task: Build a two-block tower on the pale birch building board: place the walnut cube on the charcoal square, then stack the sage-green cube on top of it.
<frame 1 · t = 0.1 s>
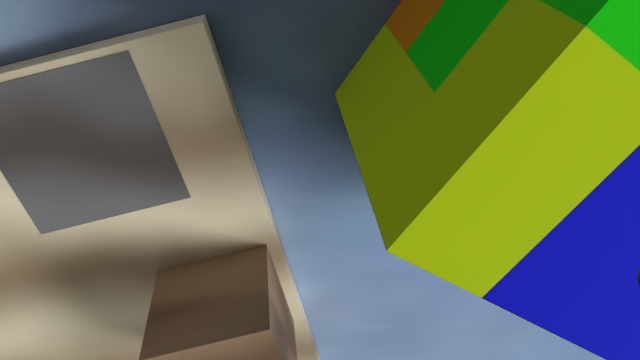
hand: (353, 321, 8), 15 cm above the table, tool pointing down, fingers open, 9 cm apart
puzzle toy: (505, 53, 22), on the table
walnut block: (229, 297, 26), point 1 cm above the table, touching building board
building board: (82, 266, 25), on the table
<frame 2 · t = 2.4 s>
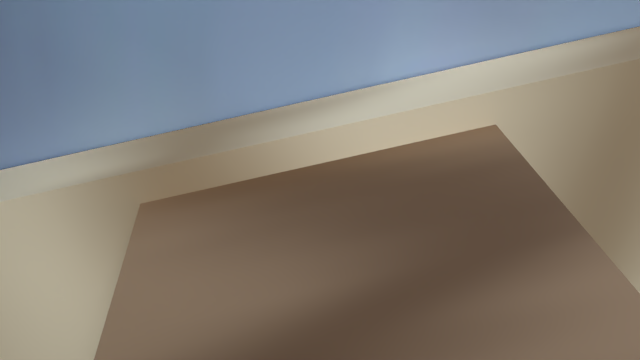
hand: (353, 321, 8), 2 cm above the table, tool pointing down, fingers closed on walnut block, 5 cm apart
walnut block: (347, 294, 9), point 1 cm above the table, touching building board, gripper
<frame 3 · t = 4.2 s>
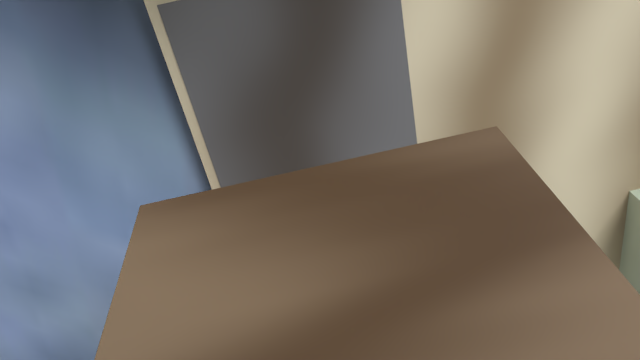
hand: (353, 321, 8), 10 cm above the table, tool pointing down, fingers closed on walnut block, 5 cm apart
walnut block: (347, 296, 9), point 10 cm above the table, touching gripper
building board: (491, 119, 19), on the table
when the fingers open (3 cm above the table, at t = 5.9 s): walnut block stays where it is, resting on building board.
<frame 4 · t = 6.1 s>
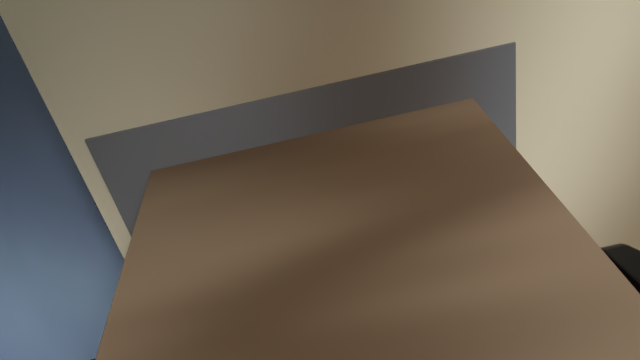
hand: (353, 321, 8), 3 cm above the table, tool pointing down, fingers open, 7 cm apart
walnut block: (339, 257, 10), point 1 cm above the table, touching building board
building board: (622, 269, 12), on the table
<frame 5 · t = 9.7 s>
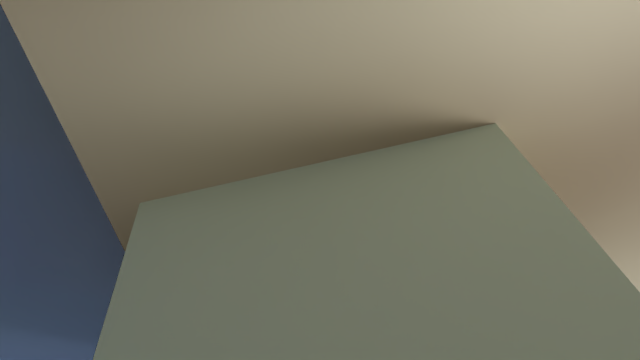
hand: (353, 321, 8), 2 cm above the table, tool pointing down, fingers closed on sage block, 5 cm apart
sage block: (347, 293, 9), point 1 cm above the table, touching building board, gripper
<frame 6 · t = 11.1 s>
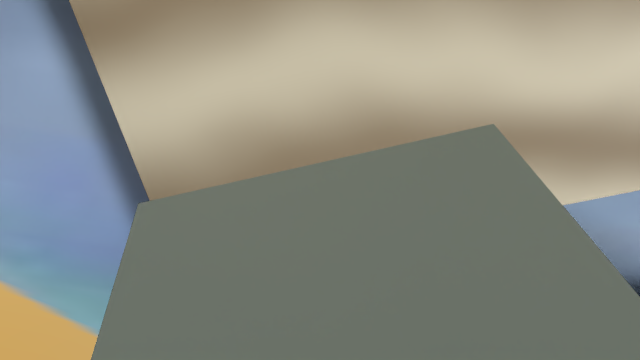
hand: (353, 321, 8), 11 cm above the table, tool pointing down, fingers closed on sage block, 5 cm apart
sage block: (345, 293, 9), point 11 cm above the table, touching gripper
when the fingers open (8 cm above the table, at t = 12.9 s): sage block drops 1 cm, resting on walnut block.
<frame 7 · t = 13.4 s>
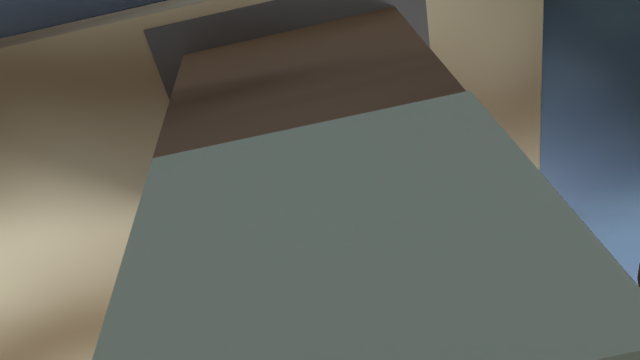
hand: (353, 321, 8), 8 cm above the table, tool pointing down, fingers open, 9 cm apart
walnut block: (310, 125, 14), point 1 cm above the table, touching building board, sage block
building board: (255, 290, 18), on the table
sage block: (337, 247, 10), point 6 cm above the table, touching walnut block
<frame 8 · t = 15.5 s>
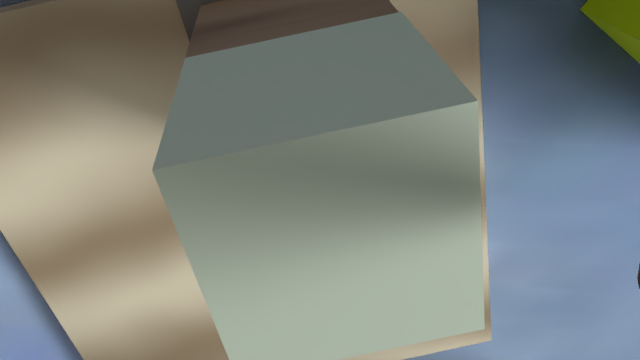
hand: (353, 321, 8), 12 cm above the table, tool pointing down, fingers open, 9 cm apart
walnut block: (298, 63, 18), point 1 cm above the table, touching building board, sage block
building board: (255, 210, 22), on the table
sage block: (313, 131, 14), point 6 cm above the table, touching walnut block
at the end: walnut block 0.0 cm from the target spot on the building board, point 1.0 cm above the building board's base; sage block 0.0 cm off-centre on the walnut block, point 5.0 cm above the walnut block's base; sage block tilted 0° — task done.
